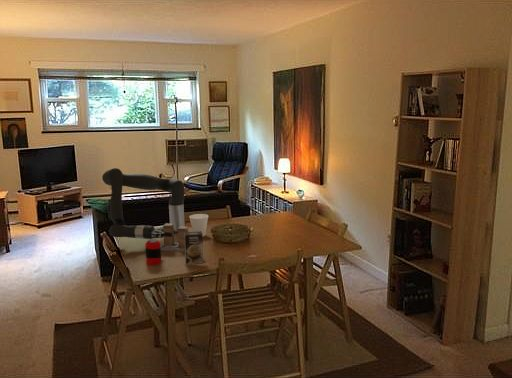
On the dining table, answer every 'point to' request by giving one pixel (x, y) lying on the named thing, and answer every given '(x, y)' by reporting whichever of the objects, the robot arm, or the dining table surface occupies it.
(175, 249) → the grey slotted tray
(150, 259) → the soda can
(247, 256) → the dining table surface
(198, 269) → the dining table surface
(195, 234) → the coffee box
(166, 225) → the block
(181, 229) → the seated billet
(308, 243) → the dining table surface
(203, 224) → the cup
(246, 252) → the dining table surface
